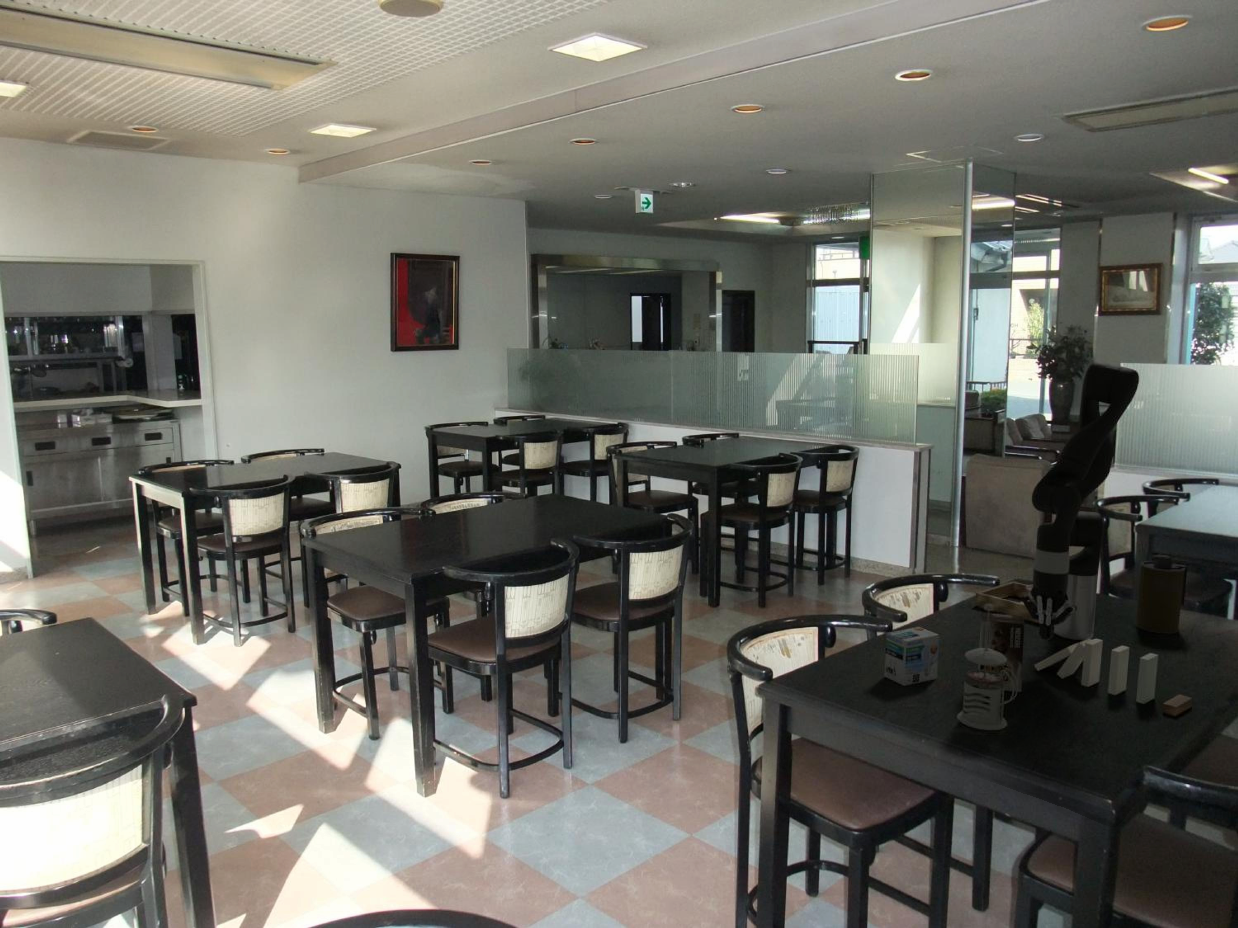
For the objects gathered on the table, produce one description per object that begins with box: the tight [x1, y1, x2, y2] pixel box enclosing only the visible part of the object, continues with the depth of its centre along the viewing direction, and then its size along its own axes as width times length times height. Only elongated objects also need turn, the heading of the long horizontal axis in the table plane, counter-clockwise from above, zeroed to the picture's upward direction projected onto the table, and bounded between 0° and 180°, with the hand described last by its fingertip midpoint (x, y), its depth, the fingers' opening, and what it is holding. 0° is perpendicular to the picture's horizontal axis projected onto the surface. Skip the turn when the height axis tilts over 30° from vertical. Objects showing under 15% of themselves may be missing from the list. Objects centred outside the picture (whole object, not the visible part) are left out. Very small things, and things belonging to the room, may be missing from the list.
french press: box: [956, 604, 1019, 731], centre depth 191 cm, size 10×12×25 cm
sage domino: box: [1135, 652, 1159, 705], centre depth 203 cm, size 2×5×10 cm, turn 127°
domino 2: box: [1056, 638, 1092, 679], centre depth 215 cm, size 2×5×10 cm, turn 128°
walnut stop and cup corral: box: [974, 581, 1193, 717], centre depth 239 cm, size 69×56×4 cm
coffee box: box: [977, 611, 1026, 693], centre depth 211 cm, size 9×6×16 cm
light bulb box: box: [884, 626, 940, 686], centre depth 216 cm, size 11×7×11 cm, turn 118°
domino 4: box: [1107, 645, 1130, 696], centre depth 208 cm, size 2×5×10 cm, turn 127°
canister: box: [1134, 554, 1188, 635], centre depth 250 cm, size 11×10×20 cm
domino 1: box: [1033, 642, 1079, 672], centre depth 219 cm, size 2×5×10 cm
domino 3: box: [1080, 638, 1104, 687], centre depth 212 cm, size 2×5×10 cm, turn 127°
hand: (1045, 638), depth 221 cm, fingers closed
